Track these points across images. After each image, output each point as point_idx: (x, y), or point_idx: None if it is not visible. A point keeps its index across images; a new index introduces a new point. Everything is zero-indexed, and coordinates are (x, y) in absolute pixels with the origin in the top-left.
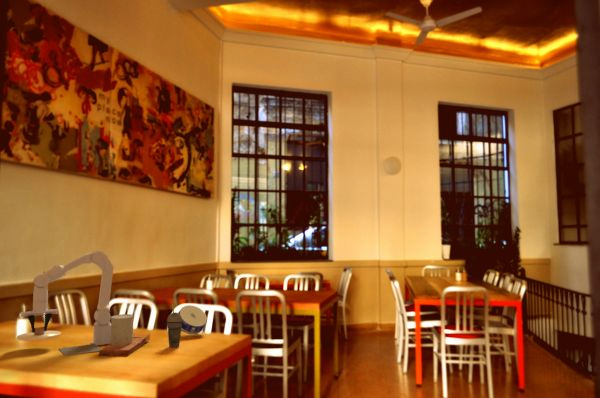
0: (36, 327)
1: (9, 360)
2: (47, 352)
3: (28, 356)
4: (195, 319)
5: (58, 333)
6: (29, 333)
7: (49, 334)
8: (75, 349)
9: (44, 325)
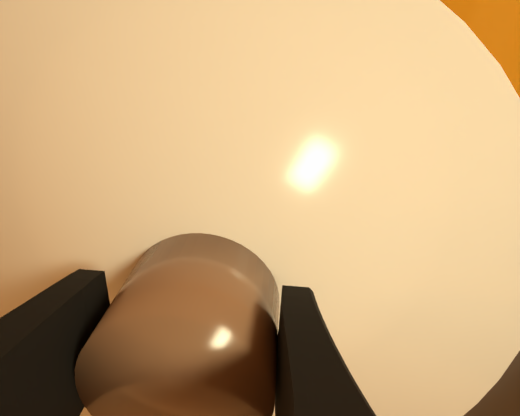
0: (114, 342)
1: None
2: None
3: None
4: None
5: (450, 403)
6: (44, 78)
7: None
8: (488, 393)
9: (285, 367)
